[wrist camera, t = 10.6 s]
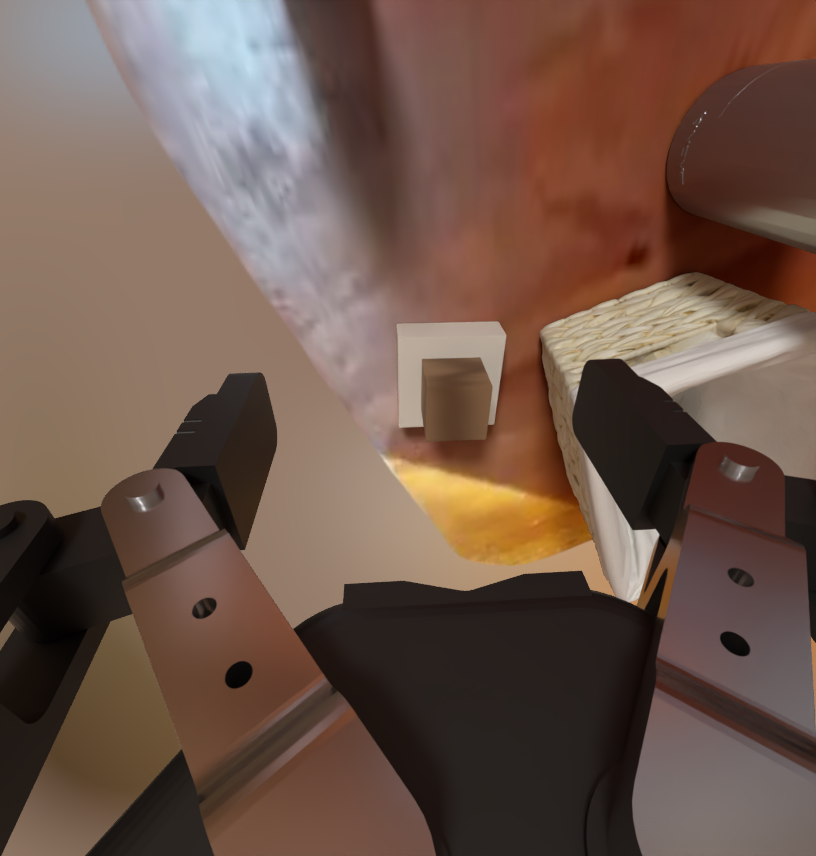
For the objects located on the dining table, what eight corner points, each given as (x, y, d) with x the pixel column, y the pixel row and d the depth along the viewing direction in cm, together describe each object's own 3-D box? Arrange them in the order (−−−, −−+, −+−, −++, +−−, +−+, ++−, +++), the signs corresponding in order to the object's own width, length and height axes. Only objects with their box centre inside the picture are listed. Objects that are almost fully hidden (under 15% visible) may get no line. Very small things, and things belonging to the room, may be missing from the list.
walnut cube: (480, 357, 38) (492, 386, 34) (475, 406, 41) (486, 439, 37) (421, 359, 38) (427, 388, 33) (420, 408, 40) (425, 441, 36)
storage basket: (703, 456, 50) (806, 564, 38) (561, 498, 53) (615, 612, 41) (708, 248, 37) (869, 315, 25) (517, 319, 39) (578, 410, 27)
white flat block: (498, 321, 39) (506, 335, 37) (487, 407, 44) (493, 424, 42) (396, 323, 39) (397, 337, 36) (397, 410, 44) (398, 427, 41)
